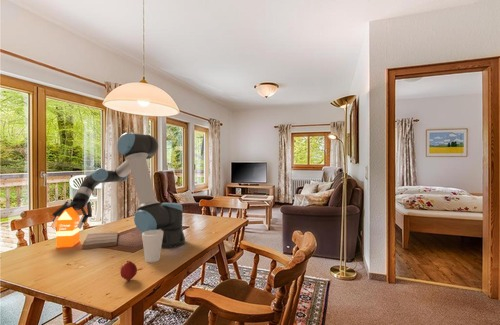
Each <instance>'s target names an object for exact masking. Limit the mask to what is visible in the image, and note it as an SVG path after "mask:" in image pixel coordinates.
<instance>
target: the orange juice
mask: <svg viewBox="0 0 500 325" xmlns="http://www.w3.org/2000/svg"><path fill="white" fill-rule="evenodd" d="M76 211H77V210H74V209H73V208H72V207H70V208H68V209H66V210H64V212H63V213H62V214H61V215H60V217H59V218H58V219H57V226H56V233H55V234H56V235H55V236H56V243H55V245H56V248H72V247H74V246H75V245H76V244H78V243H79V242H80V229H79V228H78V227H77V225H78V223H79V221H80V219H81V218H80V215H79V214H78V212H76Z"/></svg>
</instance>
